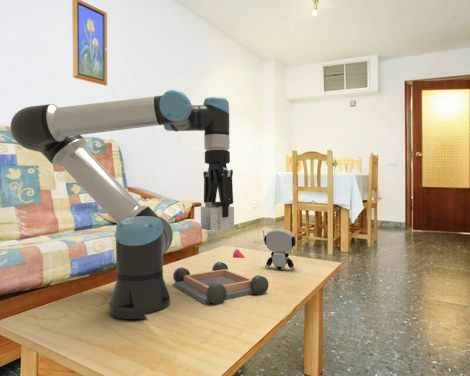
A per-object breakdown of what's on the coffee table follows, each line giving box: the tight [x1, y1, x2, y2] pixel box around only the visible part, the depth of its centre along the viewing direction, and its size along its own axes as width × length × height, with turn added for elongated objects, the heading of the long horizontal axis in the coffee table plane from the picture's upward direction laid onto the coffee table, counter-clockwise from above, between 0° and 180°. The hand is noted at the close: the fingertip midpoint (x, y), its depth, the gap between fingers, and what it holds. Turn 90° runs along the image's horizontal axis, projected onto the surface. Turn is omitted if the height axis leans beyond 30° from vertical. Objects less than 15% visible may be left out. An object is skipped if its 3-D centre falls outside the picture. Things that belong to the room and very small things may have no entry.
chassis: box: [172, 261, 269, 305], centre depth 104 cm, size 20×24×5 cm
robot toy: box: [262, 228, 297, 272], centre depth 126 cm, size 12×4×15 cm, turn 64°
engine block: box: [200, 201, 235, 232], centre depth 104 cm, size 8×6×8 cm
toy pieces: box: [232, 249, 246, 259], centre depth 144 cm, size 12×11×4 cm
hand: (218, 227), depth 104 cm, fingers closed on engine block, 6 cm apart
